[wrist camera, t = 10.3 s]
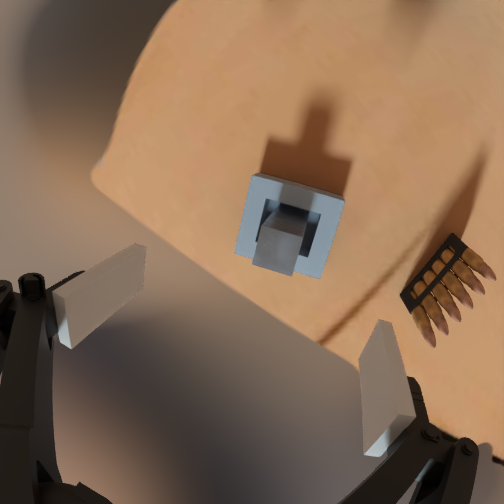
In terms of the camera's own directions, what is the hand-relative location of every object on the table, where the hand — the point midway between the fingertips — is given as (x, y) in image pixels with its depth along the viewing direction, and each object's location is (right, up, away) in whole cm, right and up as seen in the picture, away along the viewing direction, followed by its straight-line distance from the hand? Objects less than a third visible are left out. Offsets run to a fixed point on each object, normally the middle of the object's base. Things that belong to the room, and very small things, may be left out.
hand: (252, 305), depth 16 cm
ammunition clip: (+23, +1, +18) cm, 29 cm away
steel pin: (+4, +6, +19) cm, 21 cm away
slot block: (+5, +7, +20) cm, 22 cm away
